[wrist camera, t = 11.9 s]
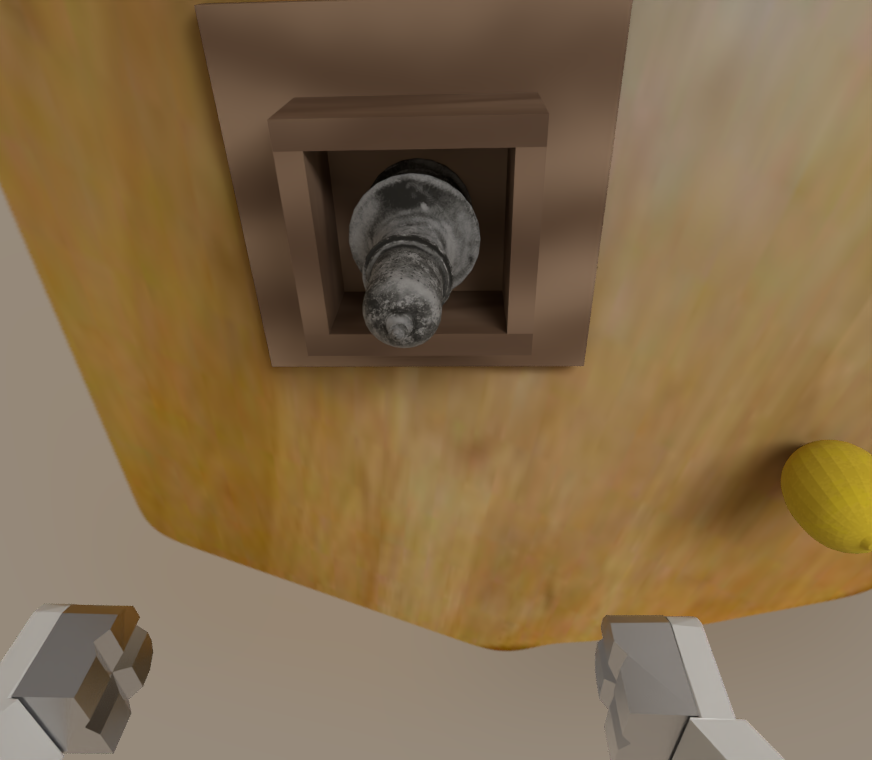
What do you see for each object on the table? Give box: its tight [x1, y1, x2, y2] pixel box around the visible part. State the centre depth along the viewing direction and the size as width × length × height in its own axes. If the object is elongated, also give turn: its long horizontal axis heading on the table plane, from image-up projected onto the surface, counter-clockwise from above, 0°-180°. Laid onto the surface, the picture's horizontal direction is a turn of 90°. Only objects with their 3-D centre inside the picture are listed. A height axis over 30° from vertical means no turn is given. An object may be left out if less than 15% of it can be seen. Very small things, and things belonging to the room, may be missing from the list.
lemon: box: [781, 440, 872, 554], centre depth 36 cm, size 6×6×8 cm
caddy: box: [194, 0, 633, 367], centre depth 29 cm, size 18×18×6 cm
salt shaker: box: [349, 158, 481, 348], centre depth 25 cm, size 6×6×12 cm
